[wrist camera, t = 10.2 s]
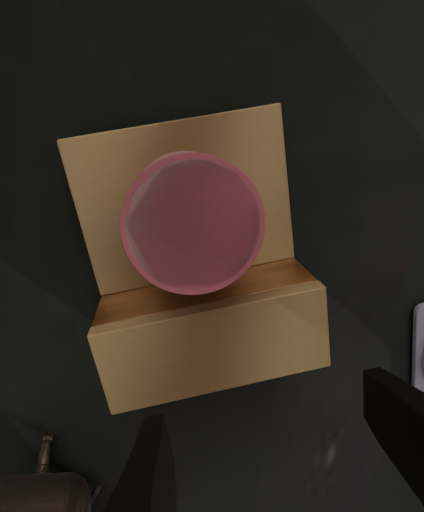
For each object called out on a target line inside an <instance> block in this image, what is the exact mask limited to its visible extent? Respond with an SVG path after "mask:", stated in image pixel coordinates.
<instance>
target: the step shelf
mask: <svg viewBox="0 0 424 512" xmlns="http://www.w3.org/2000/svg"><path fill="white" fill-rule="evenodd" d="M57 145H58V148H59V152H60V155H61V159H62V162H63V166H64V169H65V173H66V176H67V180H68V183H69V187H70V190H71V194H72V197H73V201H74V204H75V208H76V211H77V215H78V218H79V222H80V225H81V229H82V232H83V236H84V239H85V243H86V246H87V250H88V253H89V257H90V260H91V264H92V267H93V271H94V274H95V278H96V281H97V285H98V288H99V292H100V295H101V299H100V302H99V305H98V308H97V311H96V314H95V317H94V319H93V322H92V325H91V327H90V330H89V333H88V335H87V338H88V341H89V345H90V348H91V351H92V354H93V357H94V361H95V364H96V367H97V370H98V374H99V377H100V380H101V383H102V386H103V390H104V393H105V396H106V399H107V402H108V406H109V409H110V412H111V415H114V414H118V413H123V412H127V411H132V410H136V409H141V408H145V407H150V406H154V405H158V404H163V403H167V402H172V401H176V400H181V399H185V398H190V397H194V396H198V395H203V394H207V393H212V392H216V391H221V390H225V389H230V388H234V387H239V386H243V385H247V384H252V383H256V382H261V381H265V380H270V379H274V378H279V377H283V376H287V375H292V374H296V373H301V372H305V371H310V370H314V369H319V368H323V367H327V366H330V365H331V364H330V347H329V331H328V314H327V297H326V287H325V286H324V285H323V284H322V283H321V282H320V281H318V280H317V279H316V278H315V277H314V276H313V275H312V274H311V273H310V272H309V271H307V270H306V269H305V268H304V267H303V266H302V265H301V264H300V263H299V262H298V261H297V260H296V259H295V258H293V257H294V247H293V235H292V224H291V213H290V201H289V190H288V179H287V167H286V156H285V145H284V133H283V122H282V111H281V104H280V103H275V104H269V105H263V106H257V107H250V108H244V109H238V110H232V111H226V112H220V113H214V114H208V115H202V116H196V117H190V118H184V119H178V120H172V121H166V122H160V123H154V124H148V125H142V126H136V127H130V128H124V129H118V130H111V131H105V132H99V133H93V134H87V135H81V136H75V137H69V138H63V139H58V140H57ZM175 151H193V152H198V153H205V154H211V155H214V156H217V157H220V158H222V159H224V160H227V161H229V162H231V163H232V164H234V165H235V166H237V167H238V168H239V169H240V170H242V171H243V172H244V173H245V174H246V175H247V176H248V178H249V179H250V180H251V181H252V183H253V184H254V186H255V187H256V189H257V191H258V193H259V195H260V197H261V200H262V203H263V207H264V212H265V234H264V238H263V242H262V245H261V248H260V251H259V253H258V255H257V257H256V259H255V260H254V262H253V263H252V265H251V266H250V267H249V268H248V269H247V271H246V272H245V273H244V274H243V275H242V276H241V277H239V278H238V279H237V280H236V281H234V282H233V283H231V284H230V285H228V286H226V287H224V288H222V289H219V290H217V291H214V292H210V293H207V294H200V295H183V294H177V293H172V292H169V291H166V290H163V289H161V288H159V287H157V286H155V285H153V284H152V283H150V282H149V281H147V280H146V279H145V278H144V277H143V276H142V275H140V274H139V272H138V271H137V270H136V269H135V268H134V267H133V265H132V264H131V262H130V260H129V259H128V257H127V255H126V253H125V250H124V247H123V244H122V240H121V235H120V215H121V210H122V206H123V203H124V200H125V198H126V195H127V193H128V191H129V190H130V188H131V186H132V184H133V183H134V182H135V181H136V179H137V178H138V177H139V176H140V175H141V174H142V172H143V171H144V170H145V168H146V167H147V166H148V165H149V164H150V163H152V162H153V161H154V160H156V159H157V158H159V157H161V156H162V155H165V154H168V153H171V152H175Z"/></svg>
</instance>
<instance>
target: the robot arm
mask: <svg viewBox="0 0 424 512" xmlns="http://www.w3.org/2000/svg"><path fill="white" fill-rule="evenodd" d="M363 391H364V417H365V419H366V421H367V423H368V425H369V427H370V429H371V430H372V432H373V434H374V436H375V437H376V439H377V441H378V443H379V444H380V446H381V447H382V448H383V450H384V451H385V453H386V454H387V456H388V457H389V458H390V460H391V461H392V462H393V464H394V465H395V467H396V468H397V469H398V471H399V472H400V474H401V475H402V476H403V478H404V479H405V480H406V482H407V483H408V485H409V486H410V487H411V489H412V490H413V491H414V493H415V494H416V496H417V497H418V498H419V500H420V501H421V502H422V504H423V505H424V303H420V304H418V305H417V306H416V307H415V308H414V311H413V341H412V377H411V385H410V384H409V383H407V382H405V381H403V380H402V379H400V378H398V377H396V376H395V375H393V374H391V373H390V372H388V371H386V370H384V369H382V368H380V367H377V368H372V369H368V370H363ZM103 512H176V480H175V468H174V458H173V453H172V449H171V445H170V441H169V437H168V432H167V428H166V424H165V420H164V416H163V413H162V414H158V415H153V416H148V417H145V418H144V419H143V421H142V424H141V428H140V431H139V433H138V436H137V439H136V442H135V444H134V447H133V449H132V452H131V454H130V456H129V459H128V461H127V463H126V466H125V468H124V470H123V472H122V475H121V477H120V479H119V481H118V483H117V485H116V487H115V489H114V491H113V493H112V495H111V497H110V499H109V501H108V503H107V504H106V506H105V508H104V510H103Z"/></svg>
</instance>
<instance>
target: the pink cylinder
mask: <svg viewBox="0 0 424 512" xmlns="http://www.w3.org/2000/svg"><path fill="white" fill-rule="evenodd" d="M264 234H265V212H264V207H263V203H262V200H261V197H260V195H259V193H258V191H257V189H256V187H255V186H254V184H253V183H252V181H251V180H250V179H249V178H248V176H247V175H246V174H245V173H244V172H243V171H242V170H240V169H239V168H238V167H237V166H235V165H234V164H232V163H231V162H229V161H227V160H224V159H222V158H220V157H217V156H214V155H211V154H205V153H198V152H193V151H175V152H171V153H168V154H165V155H162V156H161V157H159V158H157V159H156V160H154V161H153V162H152V163H150V164H149V165H148V166H147V167H146V168H145V170H144V171H143V172H142V174H141V175H140V176H139V177H138V178H137V179H136V181H135V182H134V183H133V184H132V186H131V188H130V190H129V191H128V193H127V195H126V198H125V200H124V203H123V206H122V210H121V215H120V235H121V240H122V244H123V247H124V250H125V253H126V255H127V257H128V259H129V260H130V262H131V264H132V265H133V267H134V268H135V269H136V270H137V271H138V272H139V274H140V275H142V276H143V277H144V278H145V279H146V280H147V281H149V282H150V283H152V284H153V285H155V286H157V287H159V288H161V289H163V290H166V291H169V292H172V293H177V294H183V295H200V294H207V293H210V292H214V291H217V290H219V289H222V288H224V287H226V286H228V285H230V284H231V283H233V282H234V281H236V280H237V279H238V278H239V277H241V276H242V275H243V274H244V273H245V272H246V271H247V269H248V268H249V267H250V266H251V265H252V263H253V262H254V260H255V259H256V257H257V255H258V253H259V251H260V248H261V245H262V242H263V238H264Z"/></svg>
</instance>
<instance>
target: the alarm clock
mask: <svg viewBox="0 0 424 512" xmlns="http://www.w3.org/2000/svg"><path fill="white" fill-rule="evenodd" d="M42 438H43V444H42V447H41V450H40V452H39V457H38V462H37V469H36V471H35V473H34V474H29V475H10V476H7V477H6V478H5V479H4V480H3V481H2V482H1V483H0V512H92V508H91V506H92V504H93V501H94V500H95V498H96V497H97V495H98V493H99V492H100V490H101V485H99V486H98V487H97V488H96V489H95V490H94V492H93V493H92V494H91V493H90V488H89V486H88V483H87V481H86V480H85V478H84V477H83V476H81V475H80V474H78V473H76V472H61V473H50V459H51V447H50V443H51V442H52V441H53V438H54V435H53V433H51V432H48V433H44V435H43V437H42Z"/></svg>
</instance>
